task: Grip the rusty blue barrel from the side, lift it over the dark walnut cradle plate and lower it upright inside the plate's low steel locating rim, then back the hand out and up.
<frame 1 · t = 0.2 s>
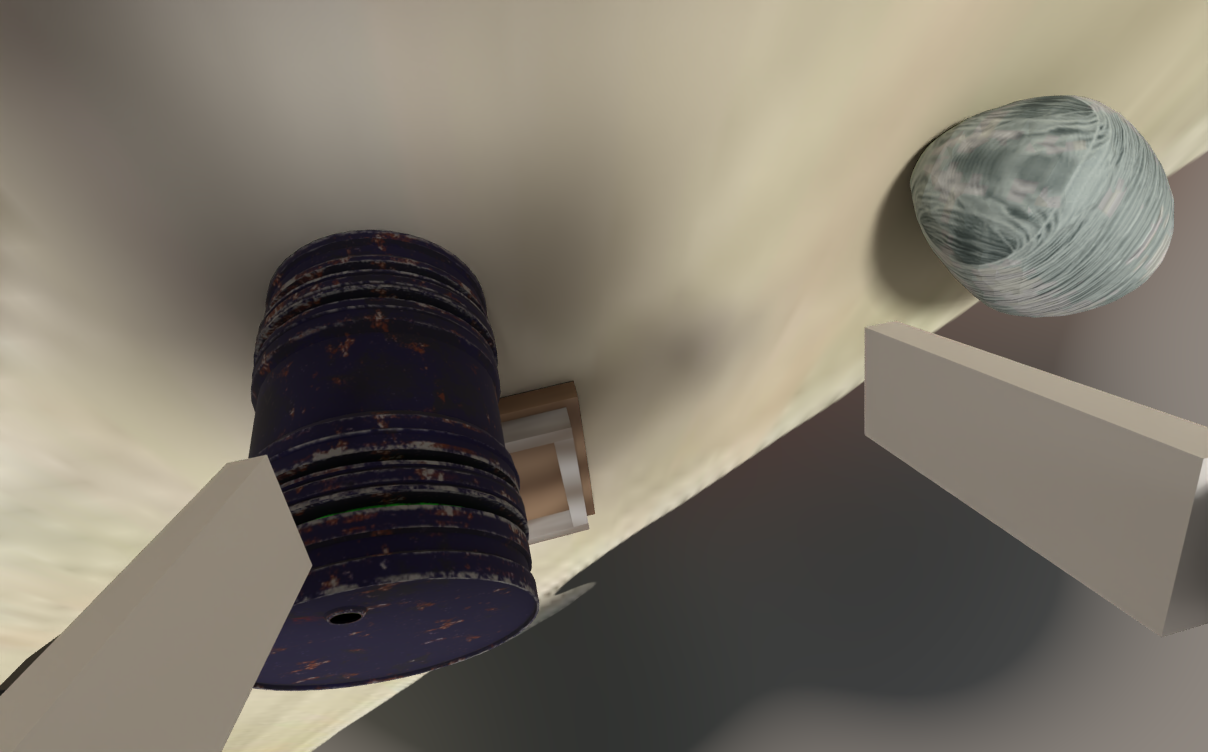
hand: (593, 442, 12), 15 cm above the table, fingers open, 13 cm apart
rusty blue barrel: (383, 311, 27), on the table
spool: (987, 168, 30), on the table
cradle plate: (468, 479, 40), on the table
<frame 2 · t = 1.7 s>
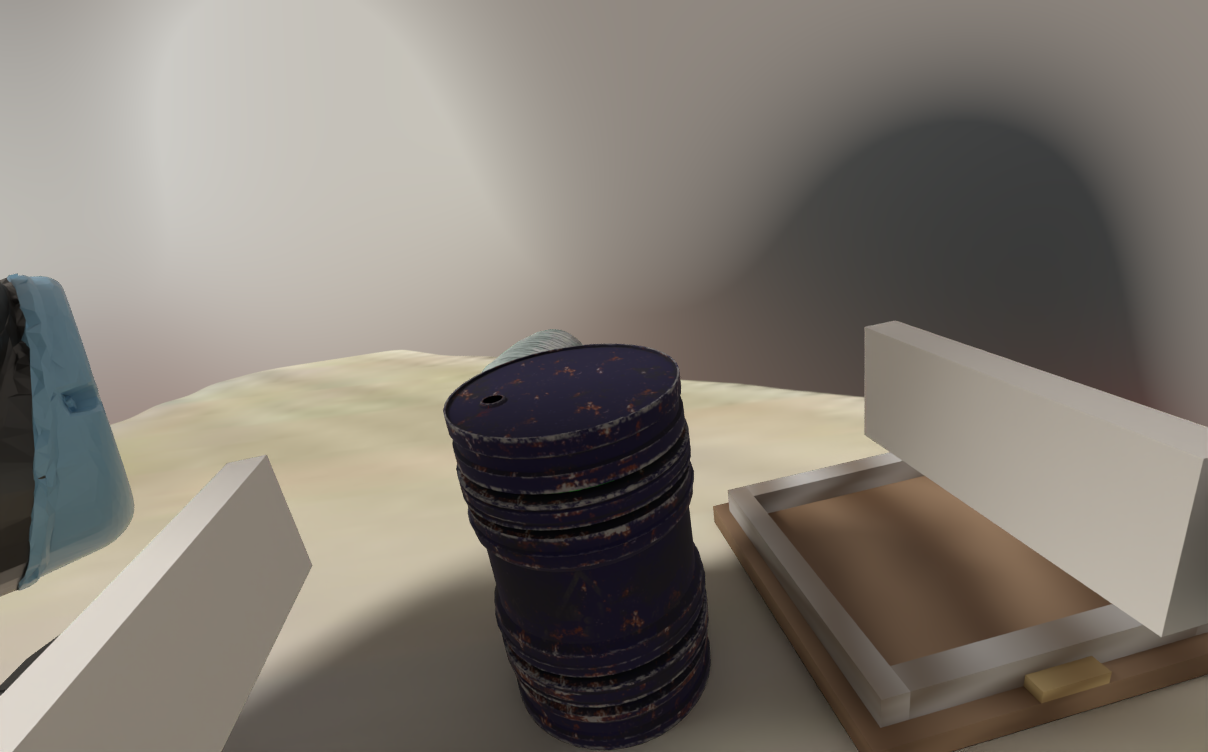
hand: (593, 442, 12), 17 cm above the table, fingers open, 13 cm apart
rusty blue barrel: (614, 659, 28), on the table
spool: (545, 416, 58), on the table
cradle plate: (921, 575, 30), on the table
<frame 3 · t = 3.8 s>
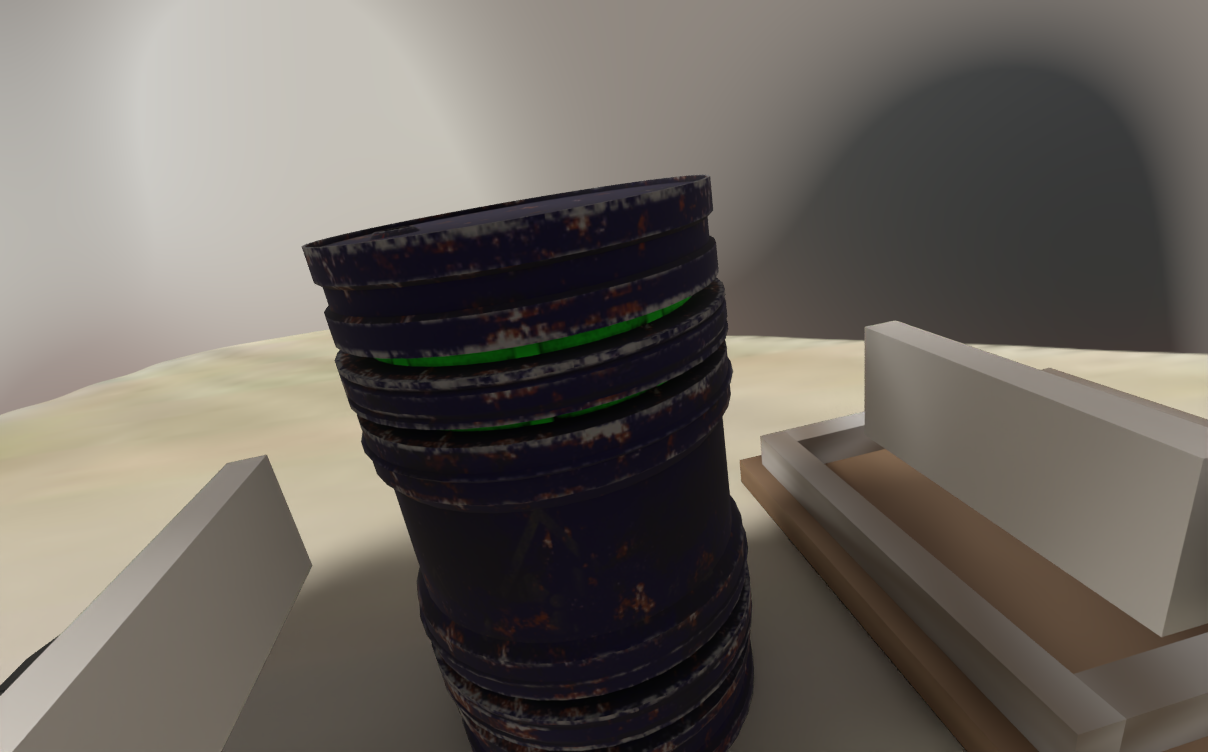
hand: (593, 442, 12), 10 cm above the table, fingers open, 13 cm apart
rusty blue barrel: (607, 668, 19), on the table
cradle plate: (1049, 540, 21), on the table
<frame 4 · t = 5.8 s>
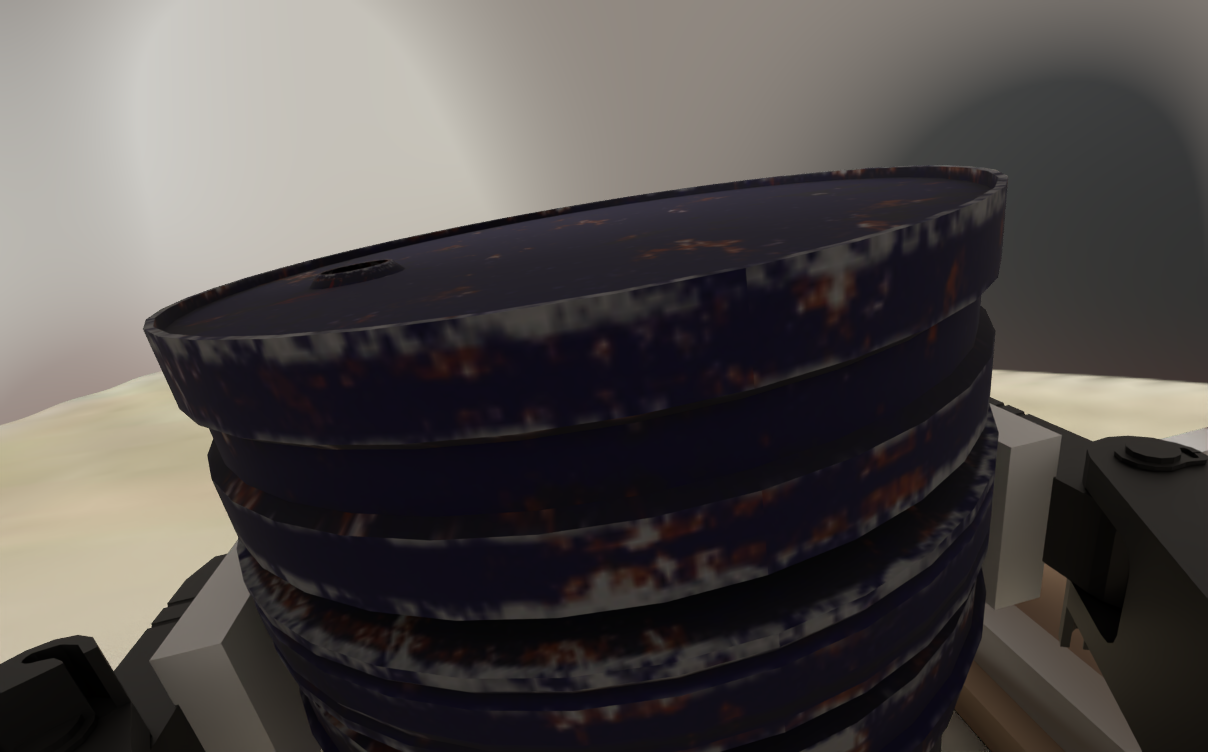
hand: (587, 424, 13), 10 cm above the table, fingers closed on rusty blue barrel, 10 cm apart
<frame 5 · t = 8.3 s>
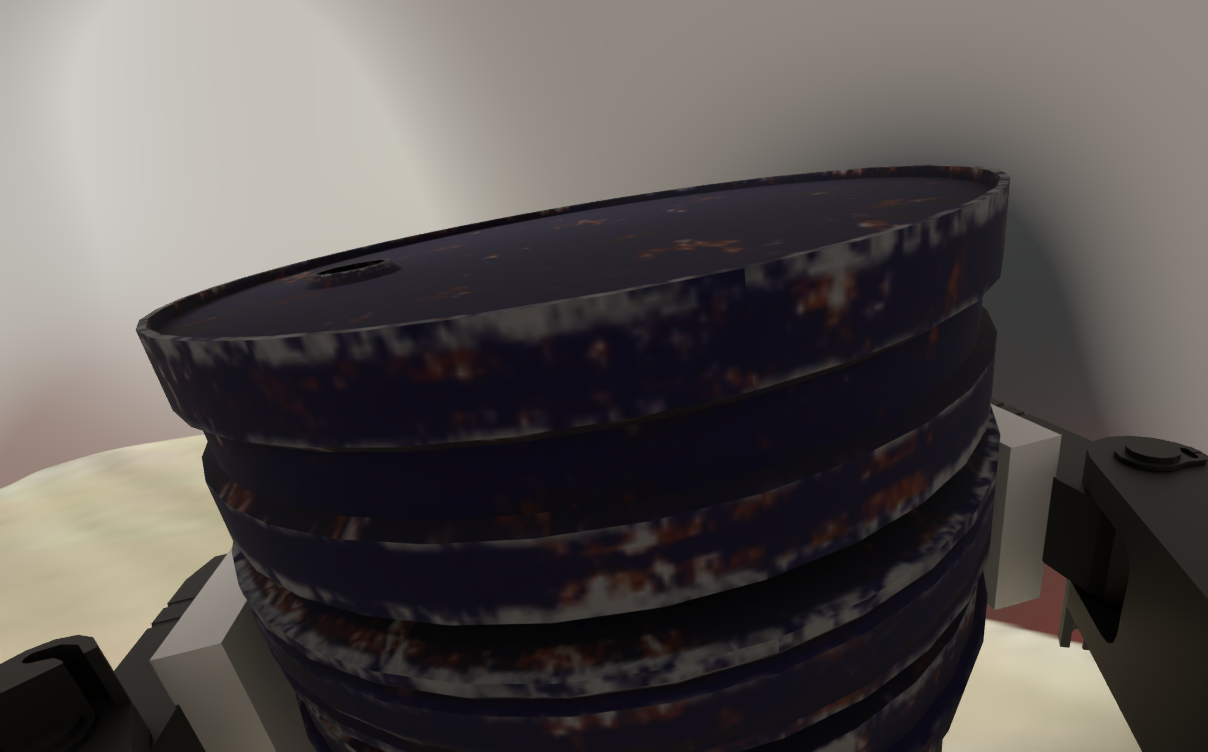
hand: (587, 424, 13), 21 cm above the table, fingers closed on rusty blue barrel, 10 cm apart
when the fingers open (12 cm above the table, at t = 10.8 s): rusty blue barrel drops 1 cm, resting on cradle plate.
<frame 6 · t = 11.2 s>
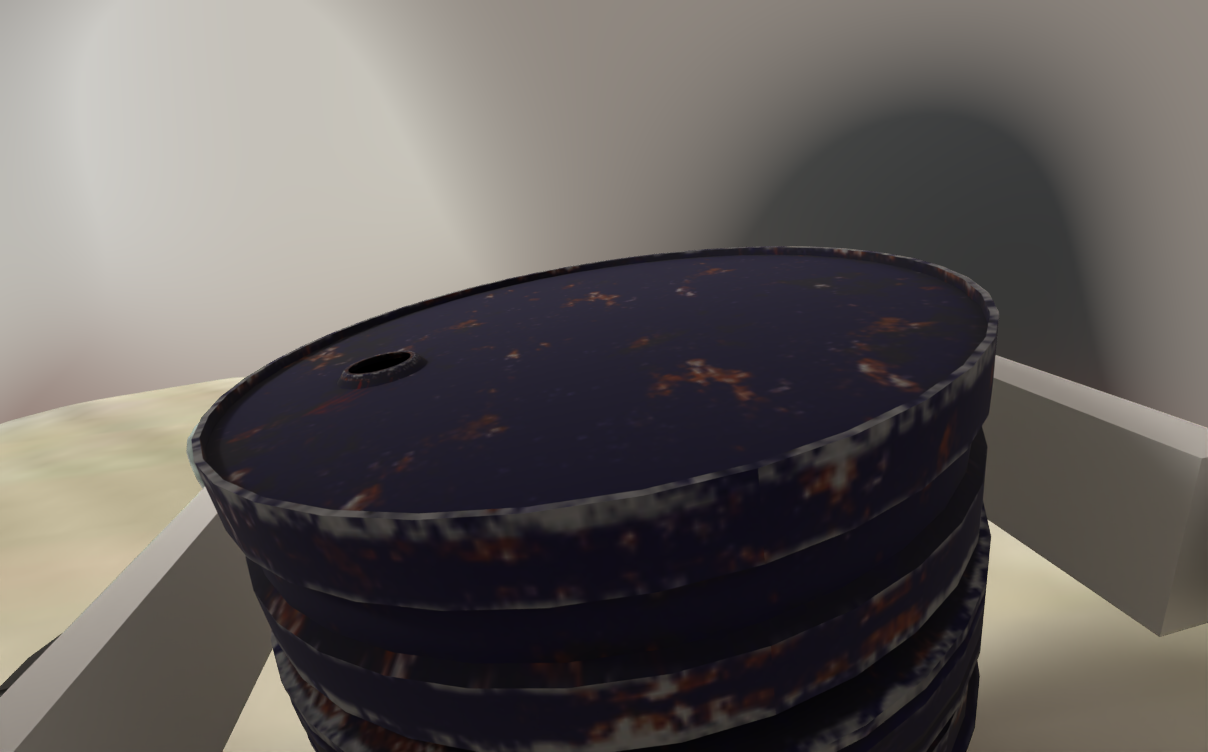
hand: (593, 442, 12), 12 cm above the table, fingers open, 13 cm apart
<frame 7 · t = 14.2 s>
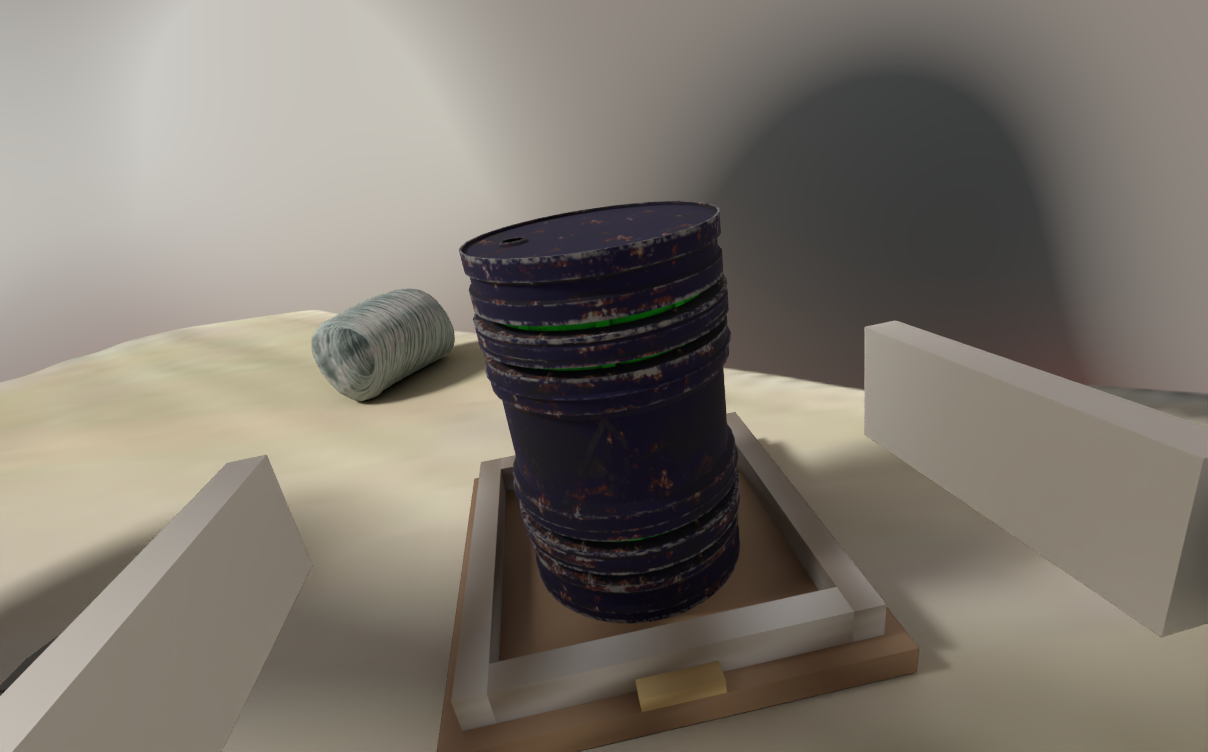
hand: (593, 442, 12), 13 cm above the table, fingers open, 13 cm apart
rusty blue barrel: (637, 545, 27), point 1 cm above the table, touching cradle plate
spool: (400, 379, 56), on the table
cradle plate: (640, 560, 28), on the table
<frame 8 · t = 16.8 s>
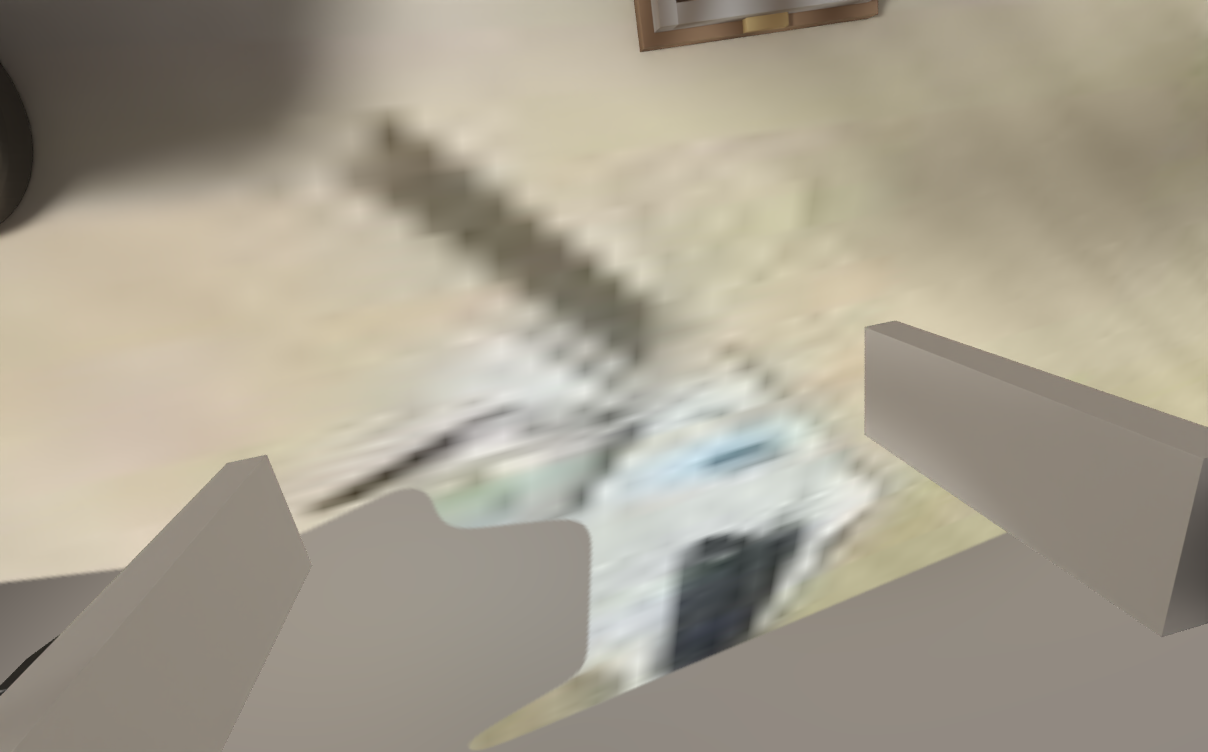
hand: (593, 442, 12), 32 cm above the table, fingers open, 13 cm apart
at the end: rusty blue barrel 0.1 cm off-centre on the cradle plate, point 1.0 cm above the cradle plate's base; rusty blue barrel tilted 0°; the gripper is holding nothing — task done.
